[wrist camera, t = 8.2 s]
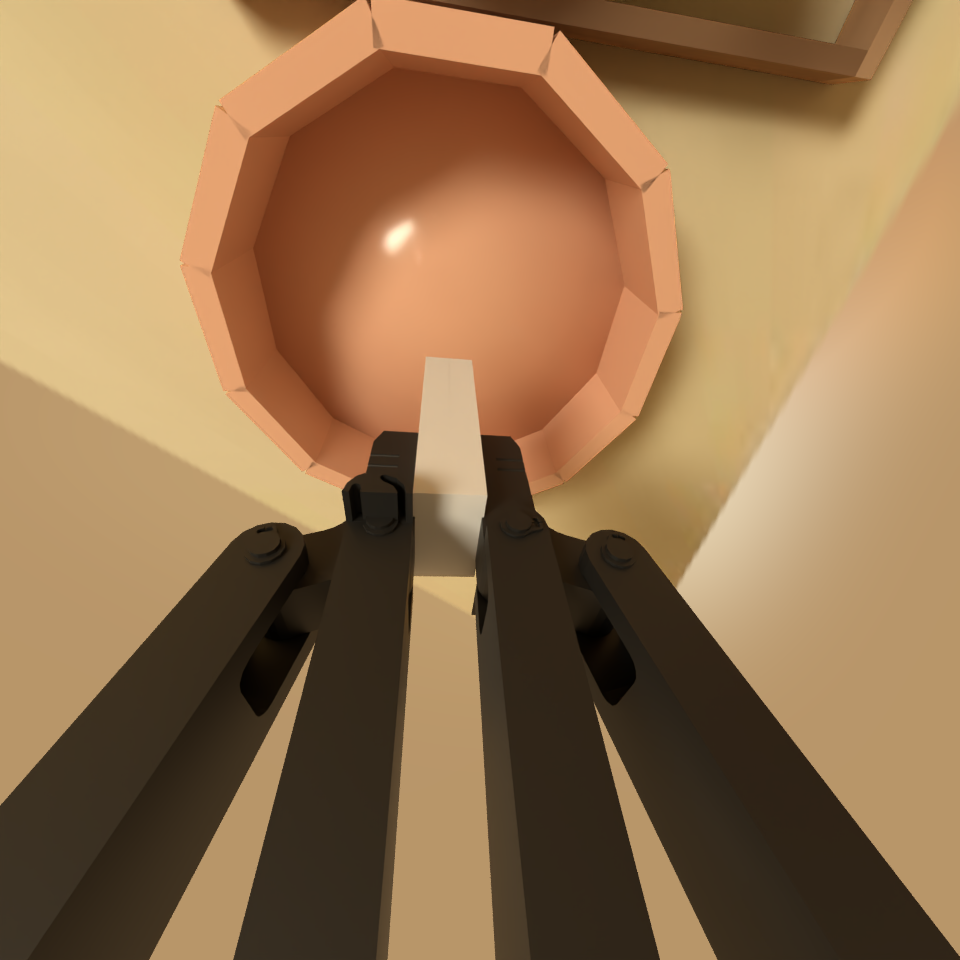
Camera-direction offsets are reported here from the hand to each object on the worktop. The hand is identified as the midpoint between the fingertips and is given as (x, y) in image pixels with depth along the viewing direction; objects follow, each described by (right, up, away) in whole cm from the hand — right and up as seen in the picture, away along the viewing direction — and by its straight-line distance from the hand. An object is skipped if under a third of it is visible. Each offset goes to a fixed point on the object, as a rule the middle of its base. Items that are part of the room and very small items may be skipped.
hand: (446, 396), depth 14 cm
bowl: (0, +5, +5) cm, 7 cm away
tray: (+5, +21, -8) cm, 23 cm away
